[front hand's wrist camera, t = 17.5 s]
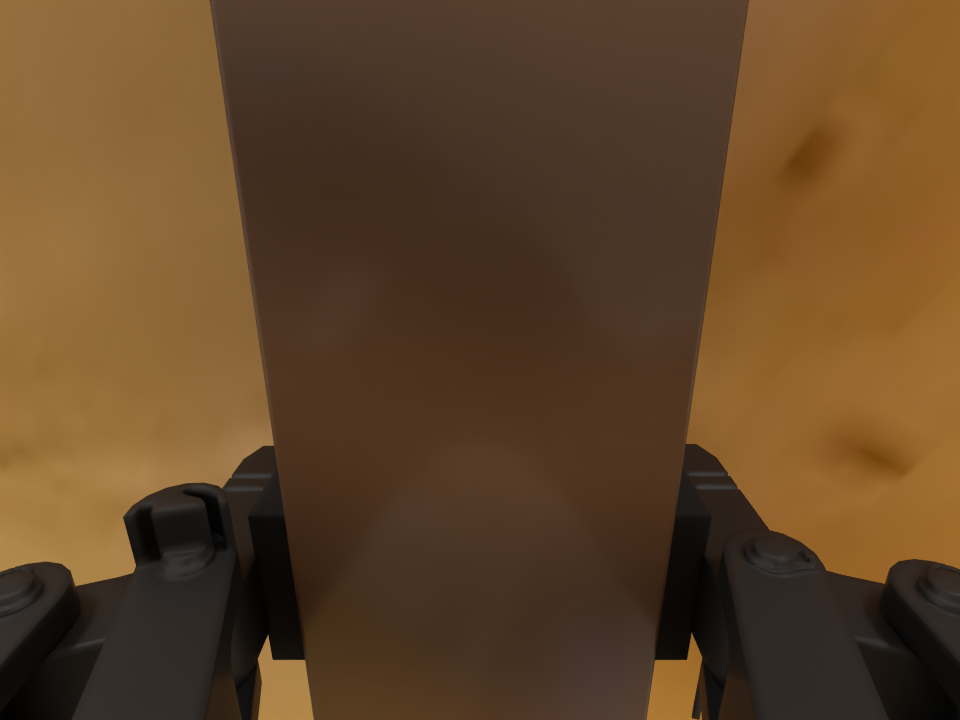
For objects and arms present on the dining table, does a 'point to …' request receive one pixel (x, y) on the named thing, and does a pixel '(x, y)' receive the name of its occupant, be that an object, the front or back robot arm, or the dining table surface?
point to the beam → (479, 331)
